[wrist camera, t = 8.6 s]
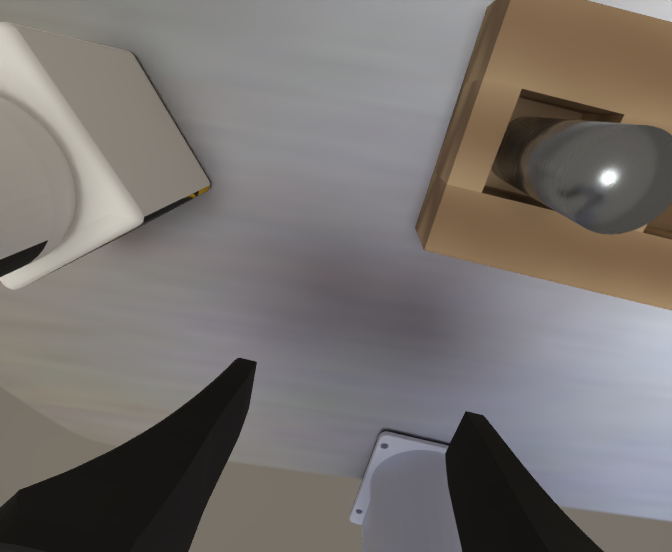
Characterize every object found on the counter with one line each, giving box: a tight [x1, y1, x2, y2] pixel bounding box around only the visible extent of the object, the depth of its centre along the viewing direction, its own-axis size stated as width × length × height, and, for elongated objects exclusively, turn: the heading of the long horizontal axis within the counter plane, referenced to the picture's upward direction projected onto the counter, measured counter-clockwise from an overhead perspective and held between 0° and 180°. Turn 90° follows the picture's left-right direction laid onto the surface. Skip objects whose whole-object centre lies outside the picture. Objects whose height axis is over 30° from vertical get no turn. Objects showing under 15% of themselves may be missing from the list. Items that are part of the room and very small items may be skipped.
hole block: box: [416, 0, 672, 310], centre depth 17 cm, size 10×14×4 cm
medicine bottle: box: [0, 22, 210, 290], centre depth 14 cm, size 7×7×12 cm
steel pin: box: [491, 117, 672, 235], centre depth 14 cm, size 3×3×8 cm
